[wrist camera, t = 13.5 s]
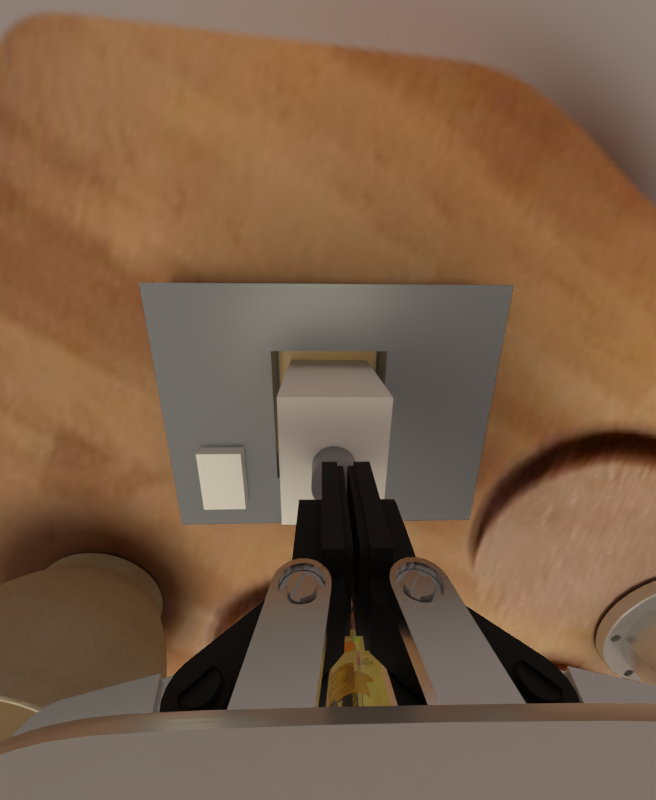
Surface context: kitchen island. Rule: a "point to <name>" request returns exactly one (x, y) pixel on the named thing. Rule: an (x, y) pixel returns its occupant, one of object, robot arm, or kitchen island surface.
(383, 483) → the plug
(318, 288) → the socket
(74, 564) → the planter bowl
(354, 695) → the sauce bottle
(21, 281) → the kitchen island surface
